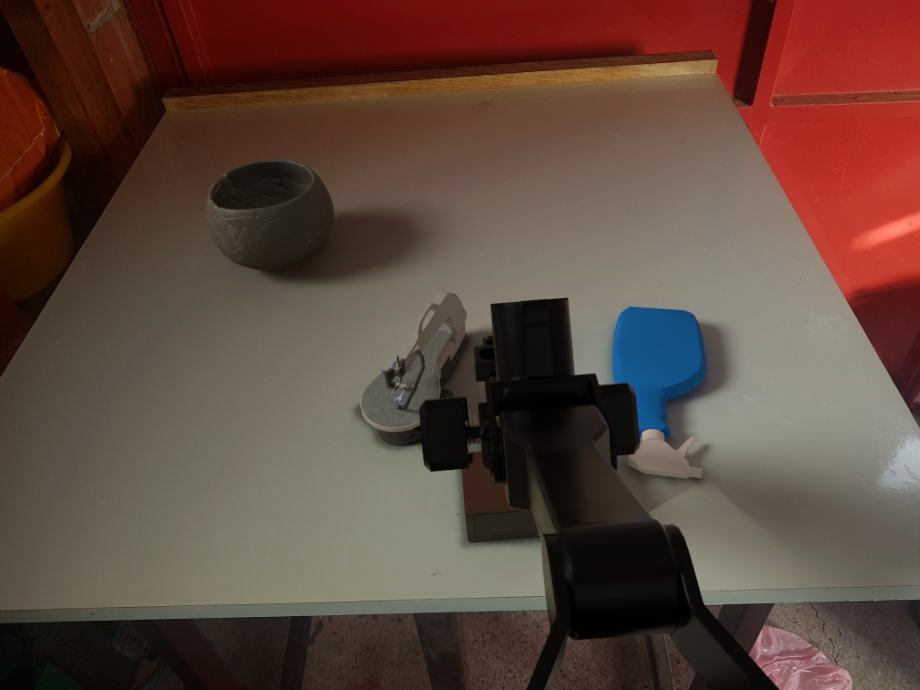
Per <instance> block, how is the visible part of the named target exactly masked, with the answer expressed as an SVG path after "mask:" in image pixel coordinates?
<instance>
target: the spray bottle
mask: <svg viewBox="0 0 920 690" xmlns="http://www.w3.org/2000/svg"><path fill="white" fill-rule="evenodd" d="M705 348H706V347H705V341H704V336H703V333H702V329H701V325H700V322H699V321H698V319H697V317H696V315H695V314H694V313H692V312H690V311H688V310H685V309H674V308H660V307H659V308H658V307H644V306H631V305H630V306H628V307H626V308H625V309H623V310H622V311H621V312H620V313H619V314H618V317H617V319H616V323H615V328H614V334H613V339H612V351H611V356H612V357H611V370H612V371H611V372H612V378H613V383H621V382H623V383H628V384H629V385H630V386H631V387H632V388H633V389H634V391H635V394H636V401H637V412H638V423H639V433H640V439H641V442H640V445H639V448H638V449H637V451H636V452H635V454H633V455H627V456H628V458H627V465H628V466H631V468H633V469H635V470H637V471H638V472H640V473H642V474H647V475H655V476H664V477H671V478H679V479H689V478H698V479H702V476H703V468H701V467H696V466H691V465H690V462H689V461H688V459H687V458H686V455H687V453H688V450H689V448H690V446H691V444H692V443H693V442H694V441H695V437H694V436H691V437H690V438H688V439H687V440H686V441H685V442H684V443H683V444H682V445H681V446H680V447H678V449H674V448H673V447H672V446H670V444H669V443H667V442H666V441H665V439H667V438H668V437H671V436H672V430H671V428H670V427H669V426H668V424H667V420H668V414H667V412H666V409H667V403H666V402H667V401H670V400H673V399H675V398H678V397H681V396H684V395H686V394H688V393H690V392H691V391H693V390H694V389H695V388H697V387H699V386H700V385H701V384H702V382H703V381H704V380H705V378H706V372H707V356H706V349H705Z"/></svg>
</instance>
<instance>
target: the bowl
mask: <svg viewBox="0 0 920 690" xmlns="http://www.w3.org/2000/svg"><path fill="white" fill-rule="evenodd" d="M205 219H206V223H207V228H208V233H209V236H210V238H211V240H212V242H213V243H214V246H216V247H217V249H218V251H220V252H221V253H222V255H224V256H225V258H227V259H228V260H230V261H231V262H232V263H234V264H236V265H239V266H241V267H245V268H248V269H250V270H256V271H264V272H265V271H269V272H271V271H273V272H276V271H284V270H288V269H291V268H294V267H297V266H299V265H301V264H303V263H305V262H307V261H308V260H310V259H311V258H313V257H314V256H315V255H316V254H317V253H319V251H321V249H322V248H323V247H324V246H325V245H326V243H327V242H328V241H329V238H330V236H331V235H332V232H333V228H334V223H335V210H334V202H333V200H332V196H331V194H330V192H329V190H328V188H327V187H326V185H325V183H324V182H323V180H322V179H321V177H320V176H319V174H317V173H316V172H315V171H314V170H313V169H312V168H311V167H310V166H308V165H307V164H305V163H303V162H301V161H297V160H293V159H288V158H287V159H286V158H269V159H267V158H266V159H261V160H256V161H251V162H248V163H247V162H246V163H243V164H241V165H238V166H235V167H233V168H231V169H229V170H228V171H226V172H225V173H224V174H223V175H220V176H219V177H218V178H217V179H215V180H214V181H213V183H212V184H211V185H210V187H209V190H208V194H207V198H206V204H205Z"/></svg>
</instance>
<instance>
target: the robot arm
mask: <svg viewBox="0 0 920 690" xmlns="http://www.w3.org/2000/svg"><path fill="white" fill-rule="evenodd" d="M489 305H490V320H491V331H492V334H491V335H489V334H488V335H486V336H485V337H482V343H481V344H474V345H473V346H472V355H473V366H474V378H475V382H476V383H481V382H482V383H484V392H485V402H484V401H483V402H477V412H478V419H477V415H476V414H474V413H473V412H471V409H470V404H469V400H468V397H467V396H455V397H449V398H437V399H426V400H425V401H424V402H423V403H422V405H421V406H420V407H419V417H420V429H421V439H420V440H421V450H422V451H421V452H422V461H423V466H424V467H425V468H426V469H427V470H428V471H429V472H430V473H435V472H445V471H457V470H462V469H469V464H472V463H473V458H474V452H481V451H482V461H483V468H484V469H485V470H487V471H488V472H489V473H490V477H493V481H494V485H504V487H505V494H506V499H507V502H508V505H509V506H510V507H511V508H512V509H516V510H521V511H525V512H532V513H533V517H534V520H535V524H536V527H537V531H538V534H539V536H538V538H539V540H540V544H541V548H540V549H541V564H542V565H541V567H542V576H543V584H544V585H543V586H544V594H545V595H544V596H545V603H546V611H547V617H548V627H549V633H548V635H547V637H546V640H545V642H544V645H543V647H542V650H541V652H540V654H539V657H538V660H537V662H536V663H535V666H534V669H533V672H532V674H531V677H530V679H529V681H528V684H527V687H526V688H525V690H552V688H553V686H554V683H555V681H556V678H557V675H558V673H559V670H560V667H561V665H562V662H563V660H564V658H565V654H566V648H567V644H568V638H569V639H571V640H572V641H574V642H575V641H586V640H600V639H601V640H602V639H614V638H627V637H629V638H630V637H639V636H640V637H643V636H654V635H655V636H657V635H669V637H670V639H671V641H672V643H673V645H674V647H675V649H676V650H677V652H679V653H680V655H681V656H682V657H683V658H684V659H685V660H686V662H687V663H688V664H689V665H690V667H691V668H692V670H694V671H695V673H696V674H697V675H698V676H699V677H700V679H701V680H702V681H703V683H705V685H706V686H707V687H708V689H709V690H781V689H780V688H779V687H778V686H777V685H776V683H775V682H774V681H773V680H772V679H771V678H770V677H769V676H768V675H767V673H766V672H765V671H764V670H763V669H762V668H761V667H760V666H759V664H758V663H757V662H756V661H755V660H754V659H753V658H752V657H751V655H749V653H748V652H747V651H746V650H745V649H744V647H742V645H741V644H740V643H739V642H738V641H737V639H735V638H734V637H733V635H732V634H731V633H730V632H729V631H728V630H727V629H726V627H725V626H724V625H723V624H722V623H721V622H720V620H719V619H718V618H717V617H716V616H715V615H714V614H713V613H712V611H710V609H709V608H708V607H707V606H706V604H705V602H704V599H703V596H702V591H701V587H700V586H699V581H698V577H697V574H696V570H695V567H694V562H693V559H692V556H691V552H690V549H689V546H688V543H687V541H686V538H685V536H684V534H683V532H682V531H681V529H680V527H679V526H677V525H676V524H674V523H669V524H668V523H666V524H662V523H661V522H660V521H659V520H657V519H656V518H653V516H652V515H651V514H650V512H649V511H648V510H647V509H646V507H645V506H644V504H642V502H641V501H640V499H638V497H637V496H636V495H635V493H634V492H633V491H632V489H631V488H630V487H629V486H628V484H627V483H626V482H625V481H624V480H623V478H622V477H621V476H620V474H619V473H618V472H617V471H618V457H621V456H629V455H633V454H635V452H636V451H637V450H638V449H639V448H640V446H641V437H640V433H639V423H638V412H637V401H636V394H635V391H634V389H633V388H632V387H631V386H630V385H629V384H628V383H623V382H621V383H614V382H611V383H600V382H599V379H598V376H597V374H596V373H595V372H593V373H592V372H591V373H579V374H576V371H575V360H574V349H573V348H574V347H573V338H572V335H573V334H572V325H571V324H572V323H571V313H570V300H569V297H555V298H539V299H528V300H527V299H525V300H520V301H507V302H496V303H490V304H489ZM496 416H498V418H497V419H496ZM477 424H479V425H477ZM477 438H481V440H480V442H479V443H478V441H477Z"/></svg>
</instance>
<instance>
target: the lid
mask: <svg viewBox="0 0 920 690" xmlns="http://www.w3.org/2000/svg"><path fill="white" fill-rule="evenodd" d="M497 418H498V416H496V419H497ZM477 425H479V423H477ZM480 440H481V438H477V441H478V443H479V442H480ZM461 478H462V479H461V480H462V493H463V509H464V511H463V512H464V516H465V515H472V514H483V513H495V512H507V511H519V510H516V509H512V508H511V507H510V506H509V505H508V502H507V499H506V494H505V487H504V485H494V481H493V477H490V473H489V472H488V471H487V470H485V469H484V468H483V461H482V451H481V452H474V458H473V463H472V464H469V469H461Z"/></svg>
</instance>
